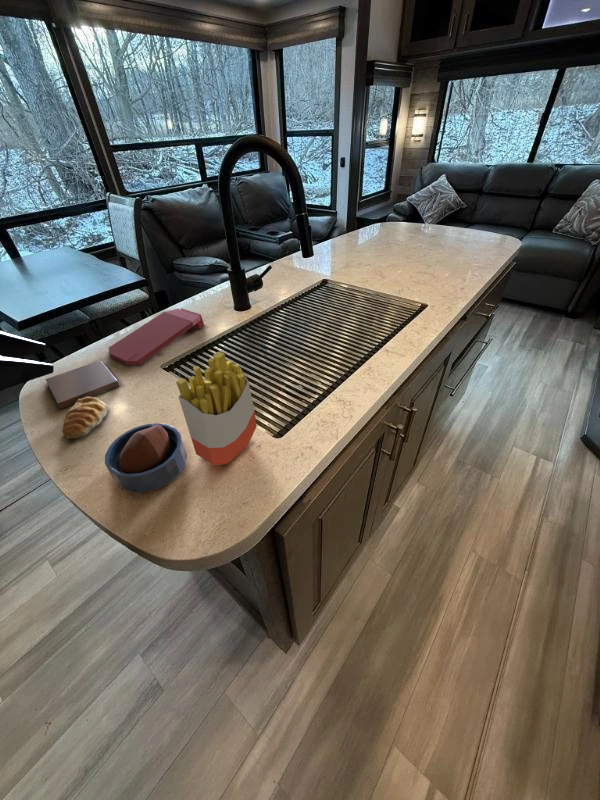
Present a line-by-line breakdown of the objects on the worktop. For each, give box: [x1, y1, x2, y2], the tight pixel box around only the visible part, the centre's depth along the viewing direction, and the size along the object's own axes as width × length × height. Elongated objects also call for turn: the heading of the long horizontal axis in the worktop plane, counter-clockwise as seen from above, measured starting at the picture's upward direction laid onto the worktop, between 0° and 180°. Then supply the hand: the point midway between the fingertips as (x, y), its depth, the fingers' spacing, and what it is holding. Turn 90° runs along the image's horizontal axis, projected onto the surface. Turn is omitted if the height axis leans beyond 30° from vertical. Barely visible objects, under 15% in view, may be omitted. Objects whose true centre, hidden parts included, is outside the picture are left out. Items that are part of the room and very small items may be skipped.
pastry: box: [62, 396, 109, 440], centre depth 64 cm, size 9×7×4 cm
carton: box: [108, 308, 205, 366], centre depth 92 cm, size 12×5×25 cm
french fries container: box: [175, 350, 258, 466], centre depth 54 cm, size 5×11×18 cm, turn 145°
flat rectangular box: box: [45, 359, 120, 409], centre depth 76 cm, size 12×12×2 cm
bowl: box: [104, 422, 188, 494], centre depth 56 cm, size 12×12×4 cm
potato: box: [119, 424, 170, 474], centre depth 55 cm, size 7×9×6 cm
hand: (49, 357), depth 47 cm, fingers open, 9 cm apart
